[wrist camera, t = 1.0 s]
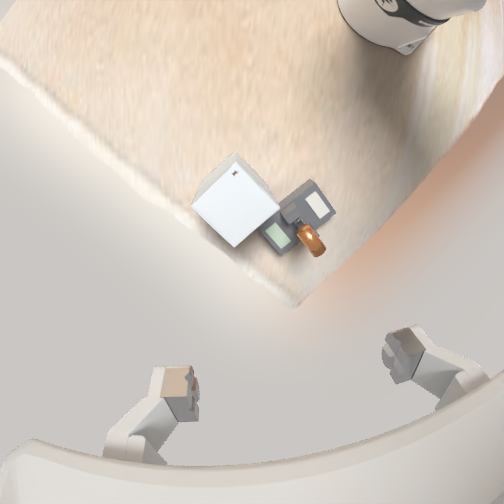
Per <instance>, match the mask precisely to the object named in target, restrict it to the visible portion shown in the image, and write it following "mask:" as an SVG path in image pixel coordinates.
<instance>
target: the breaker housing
mask: <svg viewBox="0 0 504 504" xmlns="http://www.w3.org/2000/svg"><path fill="white" fill-rule="evenodd" d="M278 204H279V206H280V210H278V211H277V212H276V213H275V214H274V215H272V216H271V217H270V218H269V219H267V220H266V221H265V222H264V223H263V224H261V225H260V226H259V227H258V228H257V229H258V230H259V231H260V232H261V233H262V235H263V236H264V237H265V238H266V239H267V240H268V241H269V242H270V243H271V245H272V246H273V247H274V248H275V249H276V250H277V251H278V253H279V254H280V255H282V254H284V253H285V252H286V251H288V250H289V249H290V248H291V247H293V246H294V245H295V244H297V243H298V242H299V241H301V240H300V238H299V237H298V236H297V235H296V231H297V229H298V227H297V226H296V225H295V223H294V222H293V221H295V220H296V219H297V218H298V217H300V218H301V219H302V220H303V221H304V223H305V224H309V225H310V227H311V228H312V229H313V230H314V232H315V233H316V234H317V236H318V237H319V234H318V233H317V232H316V230H315V229H316V228H318V227H319V226H320V225H321V224H323V223H324V222H325V221H327V220H328V219H329V218H330V217H332V216H333V215H334V214H336V212H335V210H334V209H333V207H332V206H331V204H330V203H329V201H328V200H327V199H326V197H325V196H324V194H323V193H322V192H321V190H320V189H319V187H318V186H317V185H316V183H315V182H313V181H312V180H310V179H309V180H308V181H306V182H305V183H304V184H303V185H301V186H300V187H299V188H297V189H296V190H295V191H294V192H292V193H291V194H290V195H289V196H287V197H286V198H285V199H283V200H282V201H281V202H280V203H278Z"/></svg>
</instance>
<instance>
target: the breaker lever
mask: <svg viewBox="0 0 504 504" xmlns="http://www.w3.org/2000/svg"><path fill="white" fill-rule="evenodd" d="M293 222H294V223H295V225H296V226H297V227H298V229H297V231H296V235H297V236H298V237H299V238H300V240H301V241H302V242H303V243H304V245H305V246H306V247H307V248H308V250H309V251H310V252H311V253H312V255H313V256H314V257H318V256H320V255H322V254H323V253H324V252H325V250H326V246H325V245H324V244H323V242H322V241H321V240H320V238H319V237H318V236H317V234H316V233H315V232H314V230H313V229H312V228H311V227H310V225H309V224H305V223H304V221H303V220H302V219H301V218H300V217H298V218H297V219H296V220H295V221H293Z"/></svg>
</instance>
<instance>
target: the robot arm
mask: <svg viewBox="0 0 504 504" xmlns="http://www.w3.org/2000/svg"><path fill="white" fill-rule="evenodd" d="M485 3H486V0H338V5H339V8H340V11H341V13H342V15H343V16H344V18H345V20H346V21H347V22H348V23H349V25H350V26H351V27H352V28H353V29H354V30H355V31H356V32H357V33H359V34H360V35H361V36H363V37H364V38H366V39H367V40H369V41H371V42H373V43H376V44H378V45H382V46H387V47H391V48H393V49H395V50H397V51H398V52H400V53H401V54H403V55H408V54H410V53H412V52H413V50H414V49H415V48H416V47H417V46H418V45H419V44H420V43H421V42H422V41H423V40H424V39H425V38H427V35H428V34H429V33H430V32H431V31H432V30H433V29H434V28H435V27H436V26H438V25H441V24H443V23H445V22H447V21H448V20H449V19H450V18H452V17H455V16H459V15H463V14H468V13H472V12H476V11H479V10H480V9H481V8H483V7H484V5H485ZM408 45H409V47H408ZM385 340H386V342H387V343H386V344H385V345H384V347H383V349H382V360H383V363H384V365H385V366H386V367H387V368H389V369H391V372H390V375H391V377H392V379H393V380H394V382H395V384H399V383H402V382H405V381H408V380H411V379H412V381H414V382H415V383H417V384H418V385H420V386H421V387H423V388H424V389H426V390H427V391H429V392H430V393H432V394H433V395H435V396H437V397H438V398H440V401H439V402H438V404H437V405H436V407H435V410H436V411H435V412H433V413H431V414H429V415H426V416H424V417H422V418H420V419H418V420H416V421H413V422H411V423H409V424H406V425H404V426H401V427H399V428H397V429H394V430H391V431H389V432H386V433H384V434H381V435H378V436H375V437H372V438H370V439H366V440H363V441H360V442H357V443H353V444H350V445H346V446H343V447H339V448H335V449H332V450H328V451H323V452H319V453H315V454H310V455H305V456H300V457H295V458H289V459H283V460H277V461H269V462H261V463H252V464H240V465H225V466H172V465H167V462H166V461H165V460H164V459H163V458H162V457H161V456H160V455H159V454H158V453H157V452H158V450H159V449H160V448H161V446H162V445H163V444H164V442H165V441H166V439H167V438H168V437H169V435H170V434H171V433H172V431H173V430H174V428H175V427H176V426H177V424H178V422H192V421H198V419H199V418H198V417H199V407H198V405H197V402H198V400H199V395H200V394H199V385H198V381H197V378H195V377H194V370H193V368H192V366H155V367H154V369H153V373H152V377H151V381H150V386H149V390H148V396H147V397H143V399H142V400H140V401H139V402H138V403H137V404H136V405H135V406H134V407H133V408H132V409H131V410H130V411H129V412H128V413H127V414H126V415H125V416H124V417H123V418H122V419H121V420H120V421H119V422H118V423H117V424H115V425H114V426H113V427H112V428H111V429H110V430H109V431H108V435H107V439H106V443H105V447H104V451H103V456H102V457H100V456H95V455H90V454H86V453H82V452H78V451H74V450H70V449H66V448H62V447H59V446H56V445H53V444H50V443H47V442H44V441H41V440H38V439H30V440H28V441H26V442H24V443H23V444H21V445H20V446H18V447H17V448H16V449H14V450H13V451H12V452H10V453H9V454H8V455H7V457H6V458H5V460H4V462H3V464H2V466H1V469H0V504H504V370H503V371H501V372H500V373H499V374H497V375H496V376H494V377H493V378H491V379H489V378H488V376H487V375H486V374H485V372H484V371H483V370H482V368H481V367H480V366H479V365H478V363H477V362H475V361H472V360H470V359H468V358H465V357H463V356H461V355H458V354H456V353H454V352H451V351H449V350H447V349H444V348H442V347H440V346H435V345H434V344H433V343H432V341H431V340H430V339H429V338H428V336H426V334H425V333H424V332H423V331H422V329H421V328H420V327H419V326H418V325H414V326H410V327H407V328H403V329H400V330H397V331H394V332H390V333H388V334H387V335H386V339H385Z"/></svg>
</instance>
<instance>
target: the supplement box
mask: <svg viewBox="0 0 504 504" xmlns="http://www.w3.org/2000/svg"><path fill="white" fill-rule="evenodd" d="M191 208H192V209H193V210H194V211H195V212H196V213H197V214H198V215H199V216H200V217H201V218H202V219H203V220H204V221H206V222H207V223H208V224H209V225H210V226H211V227H212V228H213V229H214V230H215V231H216V232H217V233H218V234H219V235H221V236H222V237H223V238H224V239H225V240H226V241H227V242H228V243H229V244H230V245H232V246H233V247H234V248H235V247H236V246H237V245H238V244H239V243H240V242H241V241H243V240H244V239H245V238H246V237H247V236H248V235H249V234H251V233H252V232H253V231H254V230H255V229H257V228H258V227H259V226H260V225H261V224H263V223H264V222H265V221H266V220H267V219H269V218H270V217H271V216H272V215H274V214H275V213H276V212H277V211H278V210H280V206H279V204H278V202H277V201H276V199H275V197H274V196H273V194H272V192H271V191H270V189H269V187H268V186H267V184H266V182H265V181H264V180H263V179H262V178H261V177H260V176H259V174H258V173H257V172H256V171H255V170H254V169H253V168H252V167H251V166H250V165H249V164H248V163H247V162H246V161H245V160H244V159H243V158H242V157H241V156H240V155H239V154H238V153H237V152H236V151H234V152H233V153H232V154H230V155H229V156H228V157H227V158H226V159H225V160H224V161H223V162H222V163H221V164H219V165H218V166H217V167H216V168H215V169H214V170H213V171H212V172H211V173H210V174H209V175H208V176H207V177H206V178H205V179H204V180H203V181H202V182H201V184H200V186H199V188H198V190H197V193H196V195H195V197H194V199H193V202H192V204H191Z"/></svg>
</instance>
